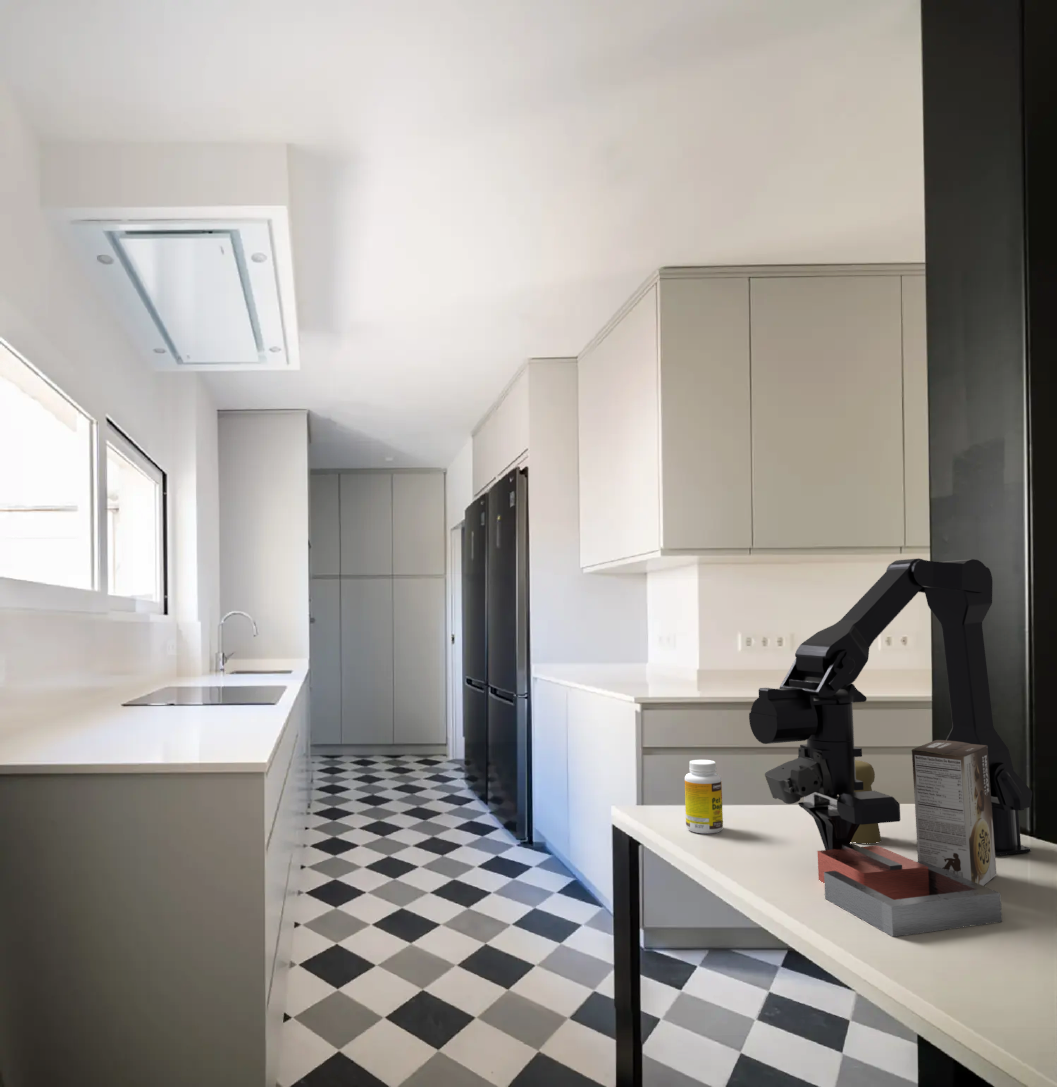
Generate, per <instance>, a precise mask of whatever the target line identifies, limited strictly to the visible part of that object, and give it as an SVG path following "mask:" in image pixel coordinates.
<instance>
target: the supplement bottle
mask: <svg viewBox="0 0 1057 1087" xmlns="http://www.w3.org/2000/svg"><path fill="white" fill-rule="evenodd" d="M716 763H717V762H716V761H714V760H712V759H711V760H710V759H692V760H689V768H688V769H689V772H688V773H686V775H685V776H684V800H685V801H684V802H685V803H684V804H685V805H684V806H685V827H686V829H687V830H689V831H690V832H693V833H697V834H706V835H707V834H709V835H710V834H717V833H719V832H722V830H723V828H724V820H723V819H724V818H723V815H724V813H723V787H722V784H723V783H722V782H723V781H722V776H721V775H719V774H718V773H716V772H717V771H716V770H717V764H716Z"/></svg>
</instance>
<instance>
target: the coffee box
mask: <svg viewBox="0 0 1057 1087" xmlns="http://www.w3.org/2000/svg"><path fill="white" fill-rule="evenodd" d="M987 747H988V746H987V745H977V744H970V743H964V742H958V741H947V740H946V739H945V740H944V739H936V740H935V739H934V740H933V741H930V742H927V743H925V744H923V745H920V746H917V747H914V748H913V749H911V758H912V760H911V761H912V775H913V796H914V809H915V810H914V811H915V812H914V813H915V827H916V828H915V830H916V833H915V834H916V850H917V862H918V861H924V862H926V863H929V864H931V865H934V866H936V867H939V868H941V869H943V870H946V871H948V872H951V873H953V874H956V875H958V876H960V877H963V878H965V879H968V880H970V881H973V882H975V883H978V884H980V885H982V886H985V885H986V884H987V883H989V882H991V880H992V879H994V878H995V876H997V865H996V864H997V860H996V856H995V847H994V832H993V819H992V803H991V789H990V775H989V762H988V749H987Z"/></svg>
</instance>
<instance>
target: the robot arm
mask: <svg viewBox="0 0 1057 1087" xmlns="http://www.w3.org/2000/svg"><path fill="white" fill-rule="evenodd" d="M992 576H993V575H992V571H991V570H990V567H987V566H986V565H985V564H984V563H983V562H982V561H980V560H978V559H973V558H971V559H957V560H945V561H934V560H927V559H923V558H919V557H918V558H910V559H909V558H908V559H907V558H906V559H898V560H894V561H893V562H891V563H889V564H888V565H887V568H886V571H885V572H884V573H883V575H881V577H880V578H879V579H878V580H877V581H876V582H875V583H874V584H873V585H872V586H871V587H870V588H869V589H868V590H867V591H866V593H864V594H863V596H861V598H860V599H859V600H858V601H857V602H855V604H854V605H853V606H852V607H851V608H850V609H849V610H848V611H847V612H846V614H844V616H843V617H842V618H841V619H840V620H838V621H837V622H836V623H834V624H832V625H830V626H827V627H826V628H823V629H821V630H819V631H817V632H816V633H815V634H813V635H812V636H810V637H809V638H807V639H806V640H804V641H803V642H801V643H800V645H799V646H798V647H797V649H796V651H795V654H794V656H795V659H794V661H793V663H792V665H791V666H790V668H789V669H788V672H787V673H786V675H785V677H784V679H783V680H782V681H781V684H780V685H779V688H773V687H772V688H771V687H759V688H758V698H756V699H755V700H754V701H753V703H752V705H751V709H750V712H748V718H749V725H750V729H751V732H752V734H753V736H754V738H755V739H756V740H757V741H758V742H759V743H761V744H764V745H767V744H780V743H793V742H805V741H806V744H800V745H799V747H798V750H797V751H798V753H797V755H798V756H797V758H794V759H793V760H788V761H785V762H784V763H782V764H780V765H777V766H776V767H774V768H771V769H769V770H768V771H766V772H765V773H764V777H765V779H766V780H765V781H766V783H767V785H768V788H769V791H770V793H771V796H772V798H773V799H775V800H777V799H778V800H780V801H782V802H783V803H785V804H788V805H791V804H796V803H798V806H799V807H800V808H801V809H803V810H805V811H806V813H808V815H810V816H811V817H812V818H813V820H814V822H815V825H816V827H817V829H818V832H819V836H820V838H821V841H822V843H823V847H824V850H832V849H842V844H851V843H850V842H851V840H852V838H853V836H854V834H855V832H856V831H857V829H858V827H859V825H860V824H861V825H864V824H876V823H878V824H886V823H895V822H896V823H897V822H901V820H902V819H901V804H900V802H898V800H896V798H895V797H893V795H889V794H886V793H882V792H880V791H876V790H872V791H863V792H854V790H864V789H863V781H860V780H857V779H856V774H855V760H856V758H858V757H859V758H860V757H863V748H861V747H857V746H855V734H854V732H855V731H854V728H855V727H854V708H853V703H854V704H855V703H865V702H866V701H867V698H868V697H867V696H866V695H865V694H864V693H863V692H861V691H860V690H858V688H856V686H855V684H854V682H855V681H856V680H857V679H858V677H859V676H860V674H861V672H862V671H863V669H864V667H865V666H866V665H867V662H868V661H869V654H870V653H869V652H870V648H871V646H872V644H873V643H874V641H875V640H876V639H877V638H878V637H879V636H880V635H881V634H882V633H883V631H885V629H886V628H887V627H888V626H889V625H890V624H891V622H893V620H894V619H895V618H896V617H897V616H898V615H899V614H900V613H901V612H902V611H903V610H904V609H905V607H906V606H907V605H908V604H910V602H911V601H912V600H913V599H914V598H915V597H916V595H917V594H919V593H922V594H924V596H925V598H926V603H927V606H928V608H929V609H930V611H931V612H932V614H933V615H934V616H935V618H936V619H937V620H938V622H939V623H940V625H941V629H942V640H943V641H942V642H943V648H944V649H943V650H944V657H945V667H946V668H945V669H946V675H947V684H948V685H947V686H948V694H949V705H950V714H951V722H952V728H951V729H950V732H949V734H948V735H947V737H946V739H945V740H947V741H958V742H964V743H970V744H977V745H987V746H988V747H987V749H988V762H989V775H990V789H991V803H992V819H993V832H994V847H995V857H996V856H997V857H999V856H1006V855H1015V854H1022V853H1023V854H1024V853H1031V852H1032V849H1031V847H1028V846H1026V845H1022V841H1021V827H1020V813H1019V812H1020V811H1025V809H1028V808H1031V804H1032V803H1031V802H1032V798H1033V791H1032V789H1030V787H1029V786H1028V785H1027V784H1026V783H1025V781H1023V779H1022V778H1021V777H1020V776H1019V775H1018V773H1016V771H1015V770H1014V766H1013V762H1012V759H1011V754H1010V749H1009V748H1008V746H1007V745H1006V743H1005V742H1004V741H1003V739H1002V738H1001V736H1000V735H999V734H998V732H997V731H996V729H995V726H994V722H993V721H994V720H993V714H992V712H993V711H992V704H991V703H992V702H991V696H990V695H991V693H990V686H989V684H990V683H989V678H988V677H989V675H988V666H987V659H986V658H987V657H986V650H985V639H984V631H983V622H984V620H985V618H986V616H987V614H988V612H989V611H990V608H991V606H992V604H993V577H992ZM802 798H803V801H802V802H800V801H801V799H802Z"/></svg>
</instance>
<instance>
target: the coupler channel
mask: <svg viewBox="0 0 1057 1087" xmlns="http://www.w3.org/2000/svg"><path fill="white" fill-rule="evenodd" d="M917 862H918V863H920V864H923V865H925V866H927V867H928V877H929V896H921V897H913V898H905V899H897V900H893V899H891V898H889V897H887V896H885V895H883V894H881V893H879V892H877V891H875V890H873V889H871V888H869V887H867V886H865V885H863V884H861V883H859V882H857V881H855V880H853V879H851V878H849V877H847V876H845V875H843V874H841V873H839V872H837V871H828V872H824V883H825V884H824V883H823V884H824V899H825V900H827V901H829V902H830V903H832V904H834V905H835V906H838V907H839V906H840V908H842V910H845V911H846V912H848V913H850V914H852V915H854V916H855V917H857V918H859V919H861V920H863V921H864V922H866V923H868V924H870V925H871V926H873V927H875V928H877V929H879V930H880V931H882V932H884V933H885V934H887V935H888V936H891V937H893V938H894V937H902V936H909V935H915V934H923V933H924V934H925V933H930V932H938V931H945V930H946V929H947V930H951V929H950V928H954V929H960V928H966V927H965V926H968V927H971V926H970V925H976V926H980V925H981V924H983V925H987V924H986V923H990V924H995V923H994V922H998V923H1002V922H1003V917H1002V902H1001V892H1000V891H997V890H995V889H994V890H993V889H992V888H990V887H987V886H985V885H984V886H982V885H980V884H978V883H975V882H973V881H970V880H968V879H965V878H963V877H960V876H958V875H956V874H953V873H951V872H948V871H946V870H943V869H941V868H939V867H936V866H934V865H931V864H929V863H926V862H924V861H918V860H917ZM1001 921H1002V922H1001ZM963 926H964V927H963ZM981 926H982V925H981ZM959 927H960V928H959Z"/></svg>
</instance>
